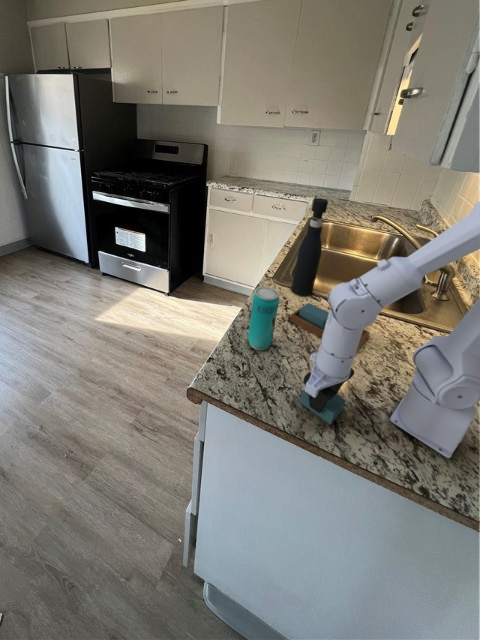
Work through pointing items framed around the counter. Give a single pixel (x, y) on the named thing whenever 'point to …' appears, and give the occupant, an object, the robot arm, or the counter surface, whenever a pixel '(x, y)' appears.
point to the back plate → (318, 331)
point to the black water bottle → (309, 252)
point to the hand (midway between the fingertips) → (321, 401)
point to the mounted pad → (314, 315)
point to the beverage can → (263, 317)
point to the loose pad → (329, 410)
